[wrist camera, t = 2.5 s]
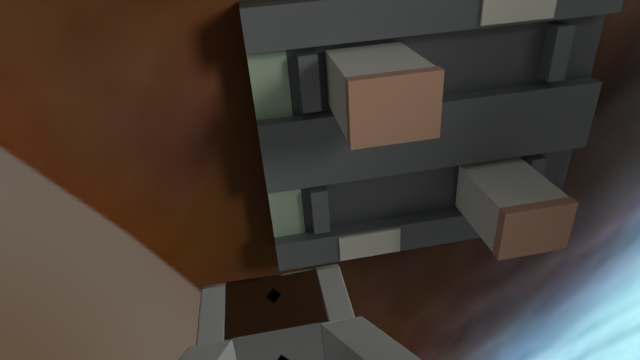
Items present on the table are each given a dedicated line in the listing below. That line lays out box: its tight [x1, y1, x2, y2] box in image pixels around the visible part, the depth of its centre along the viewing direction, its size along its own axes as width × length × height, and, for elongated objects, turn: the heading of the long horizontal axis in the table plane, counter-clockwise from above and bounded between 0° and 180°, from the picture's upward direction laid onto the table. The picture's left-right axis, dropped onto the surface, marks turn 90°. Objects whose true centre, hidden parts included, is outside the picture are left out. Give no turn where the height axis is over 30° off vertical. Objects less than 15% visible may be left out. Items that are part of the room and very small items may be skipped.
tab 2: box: [455, 157, 579, 261], centre depth 26 cm, size 4×3×6 cm
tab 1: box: [325, 42, 445, 150], centre depth 21 cm, size 4×3×6 cm
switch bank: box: [239, 0, 624, 271], centre depth 27 cm, size 20×16×3 cm
